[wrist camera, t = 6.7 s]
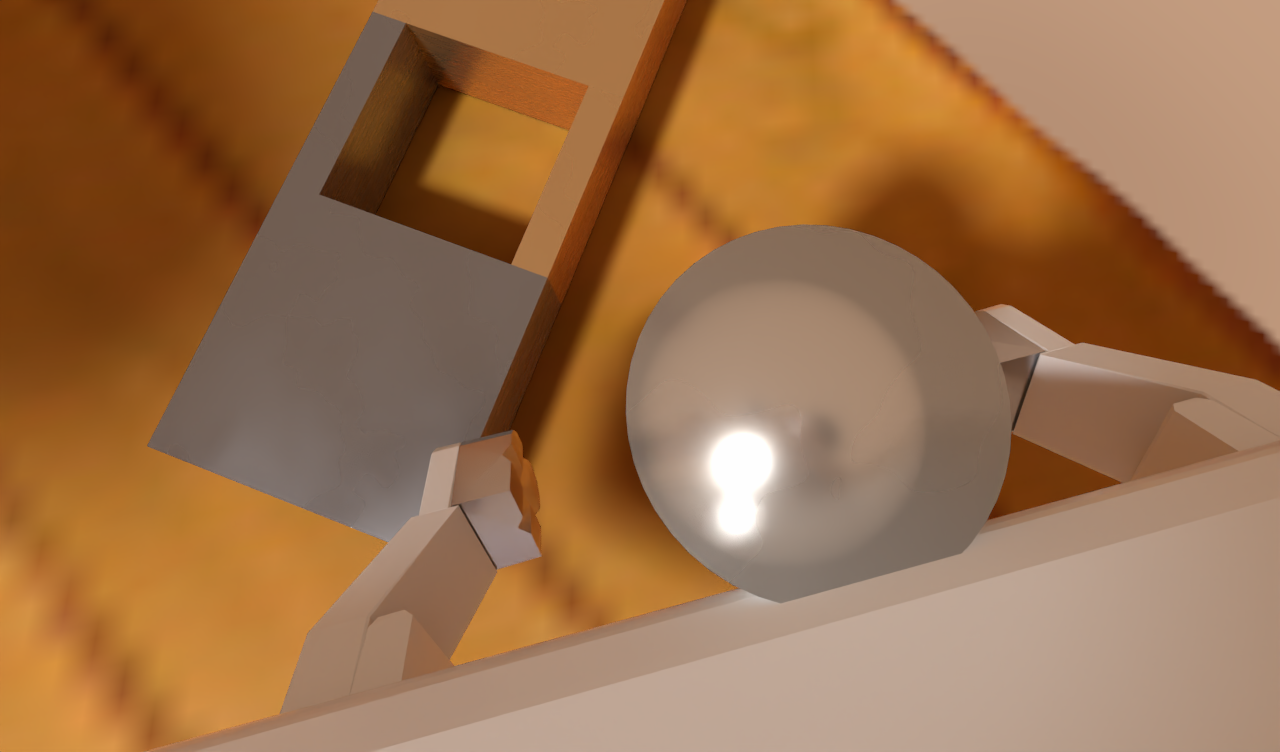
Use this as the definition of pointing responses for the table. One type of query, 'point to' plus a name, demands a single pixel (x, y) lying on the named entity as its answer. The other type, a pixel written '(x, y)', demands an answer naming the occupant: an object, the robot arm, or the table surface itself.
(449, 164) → the table surface
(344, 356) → the two-tone slotted plate
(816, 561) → the metal peg
